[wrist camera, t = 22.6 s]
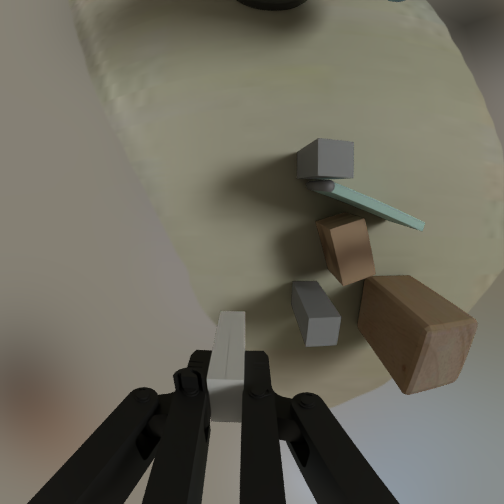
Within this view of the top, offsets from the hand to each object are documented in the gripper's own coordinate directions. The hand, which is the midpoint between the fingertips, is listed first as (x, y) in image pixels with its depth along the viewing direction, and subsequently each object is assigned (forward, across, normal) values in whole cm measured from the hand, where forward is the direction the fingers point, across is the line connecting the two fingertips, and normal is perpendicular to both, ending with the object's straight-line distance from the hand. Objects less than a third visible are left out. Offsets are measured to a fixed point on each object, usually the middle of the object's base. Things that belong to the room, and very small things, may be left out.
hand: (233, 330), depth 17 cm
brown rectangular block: (+27, +15, +1) cm, 30 cm away
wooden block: (+27, +25, -10) cm, 38 cm away
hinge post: (+26, +10, +12) cm, 31 cm away
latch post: (+26, +10, -8) cm, 29 cm away
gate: (+26, +17, +7) cm, 32 cm away
